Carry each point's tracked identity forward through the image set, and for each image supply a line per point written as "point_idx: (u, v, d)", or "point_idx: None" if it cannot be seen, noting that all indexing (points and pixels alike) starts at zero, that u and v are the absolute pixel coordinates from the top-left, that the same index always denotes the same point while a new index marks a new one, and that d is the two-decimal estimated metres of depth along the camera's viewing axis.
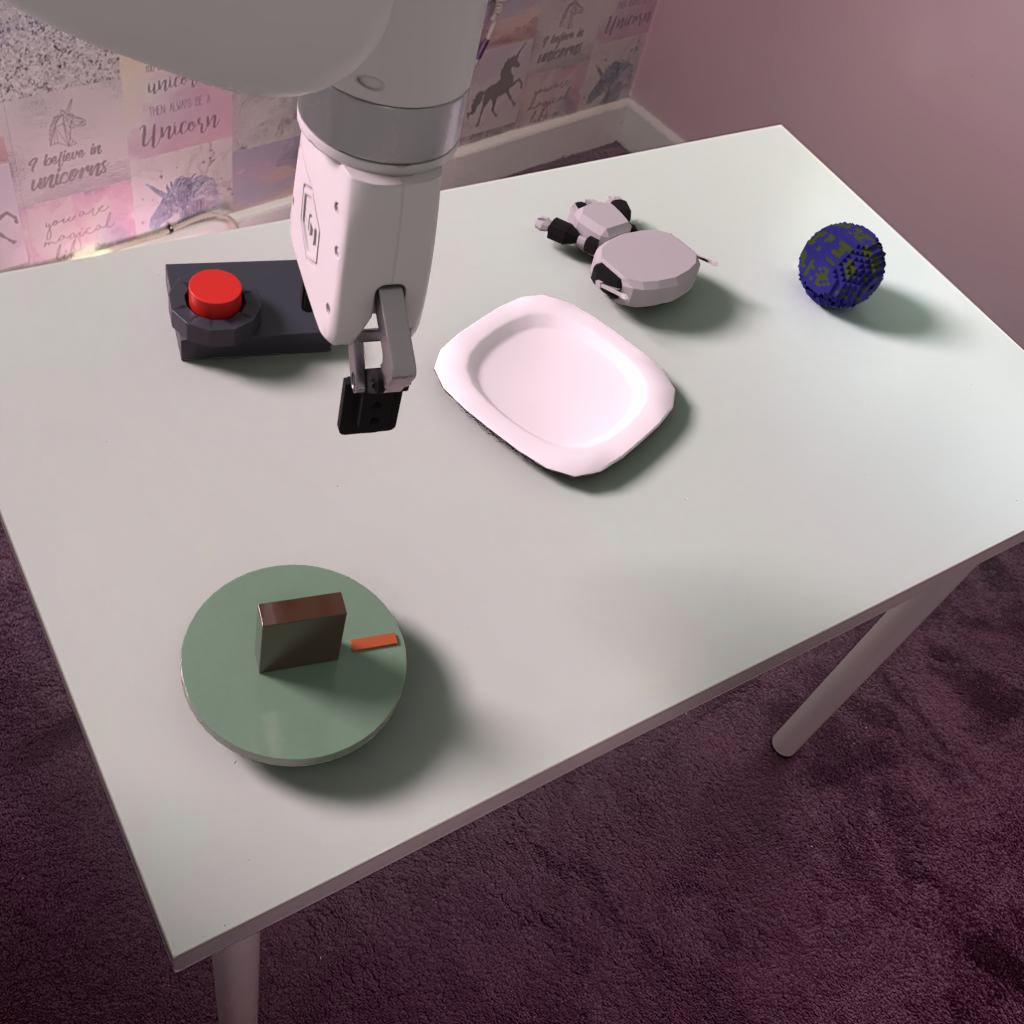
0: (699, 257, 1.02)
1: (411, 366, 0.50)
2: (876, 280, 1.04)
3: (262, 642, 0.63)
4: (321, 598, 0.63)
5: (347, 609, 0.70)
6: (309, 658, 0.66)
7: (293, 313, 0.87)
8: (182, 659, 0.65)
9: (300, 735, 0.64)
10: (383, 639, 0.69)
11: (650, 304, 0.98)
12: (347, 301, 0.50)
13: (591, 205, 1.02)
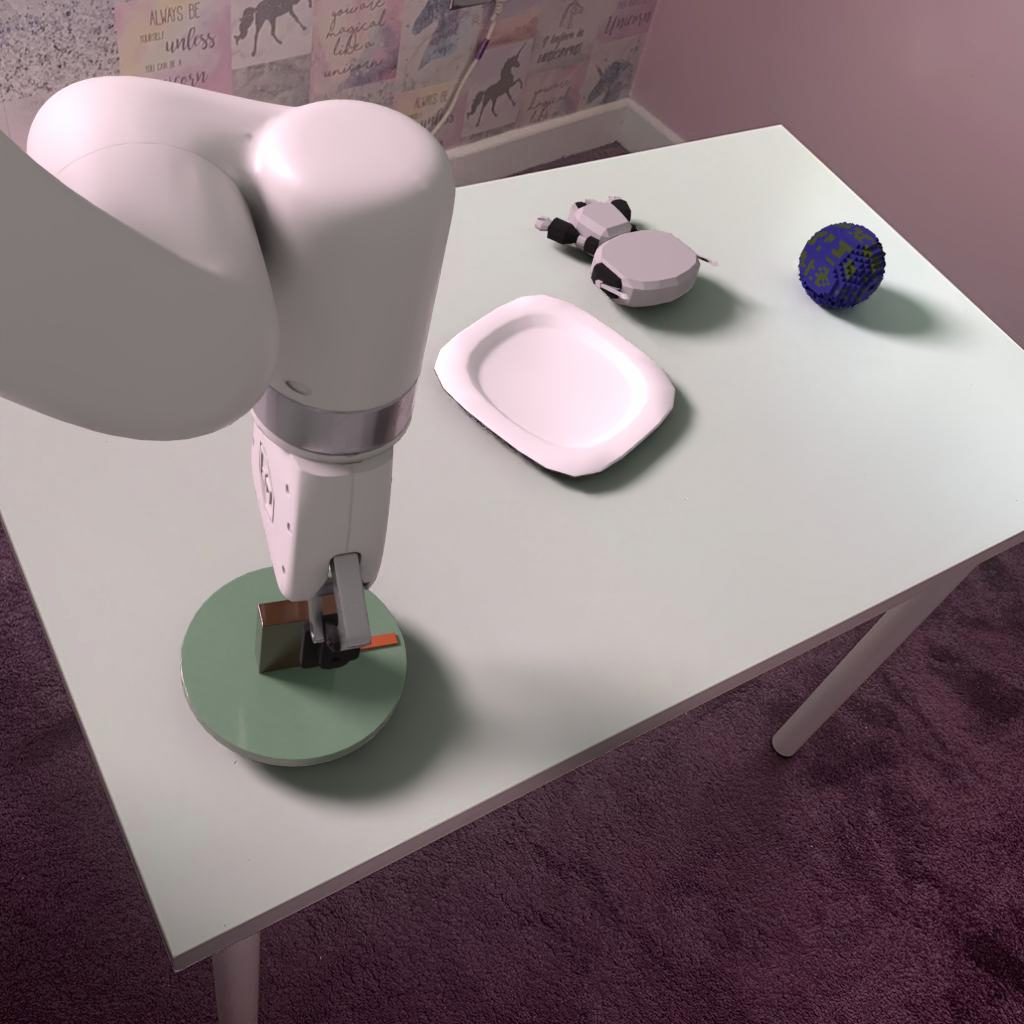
0: (699, 257, 1.02)
1: (366, 635, 0.50)
2: (876, 280, 1.04)
3: (262, 642, 0.63)
4: (321, 598, 0.63)
5: None
6: None
7: None
8: (182, 659, 0.65)
9: (300, 735, 0.64)
10: (383, 639, 0.69)
11: (650, 304, 0.98)
12: (301, 570, 0.50)
13: (591, 205, 1.02)
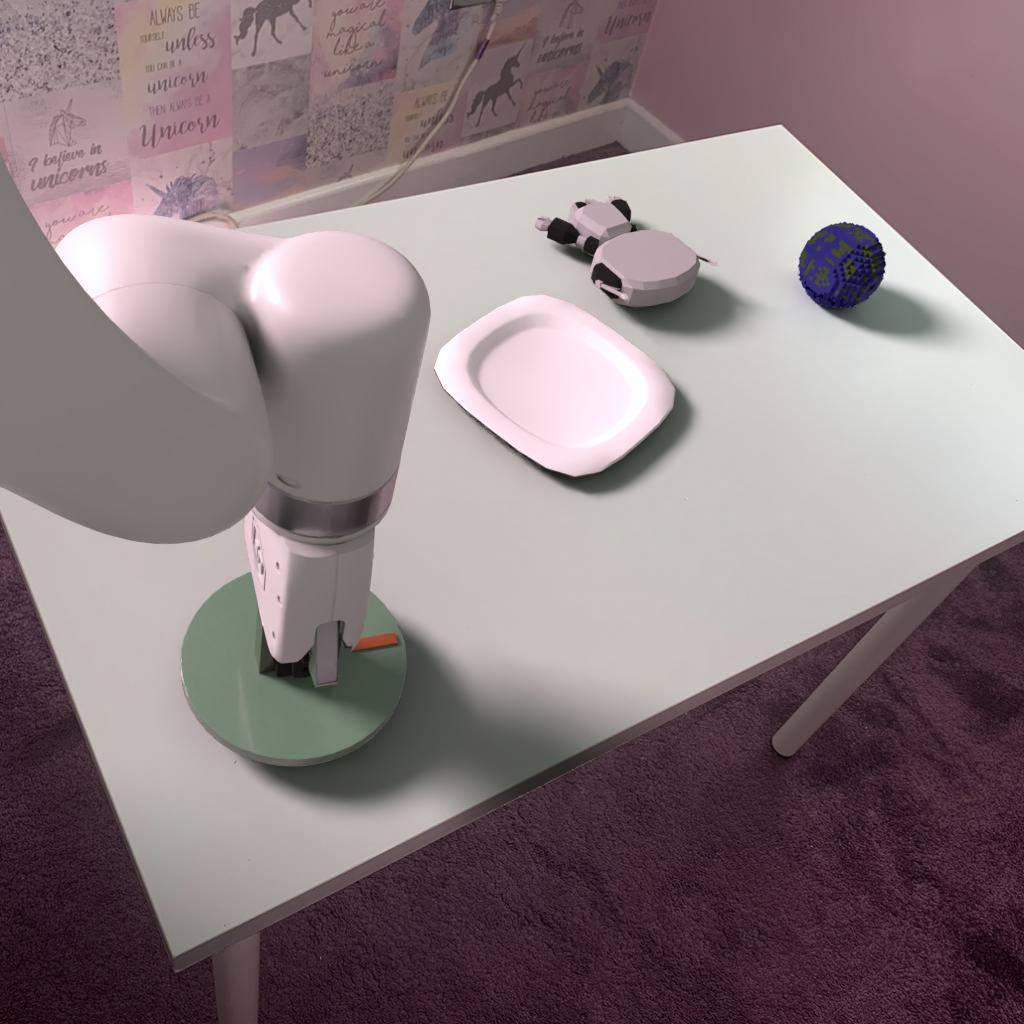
0: (699, 257, 1.02)
1: (333, 681, 0.58)
2: (876, 280, 1.04)
3: (262, 642, 0.63)
4: None
5: None
6: None
7: None
8: (182, 659, 0.65)
9: (300, 735, 0.64)
10: (383, 639, 0.69)
11: (650, 304, 0.98)
12: (290, 636, 0.55)
13: (591, 205, 1.02)
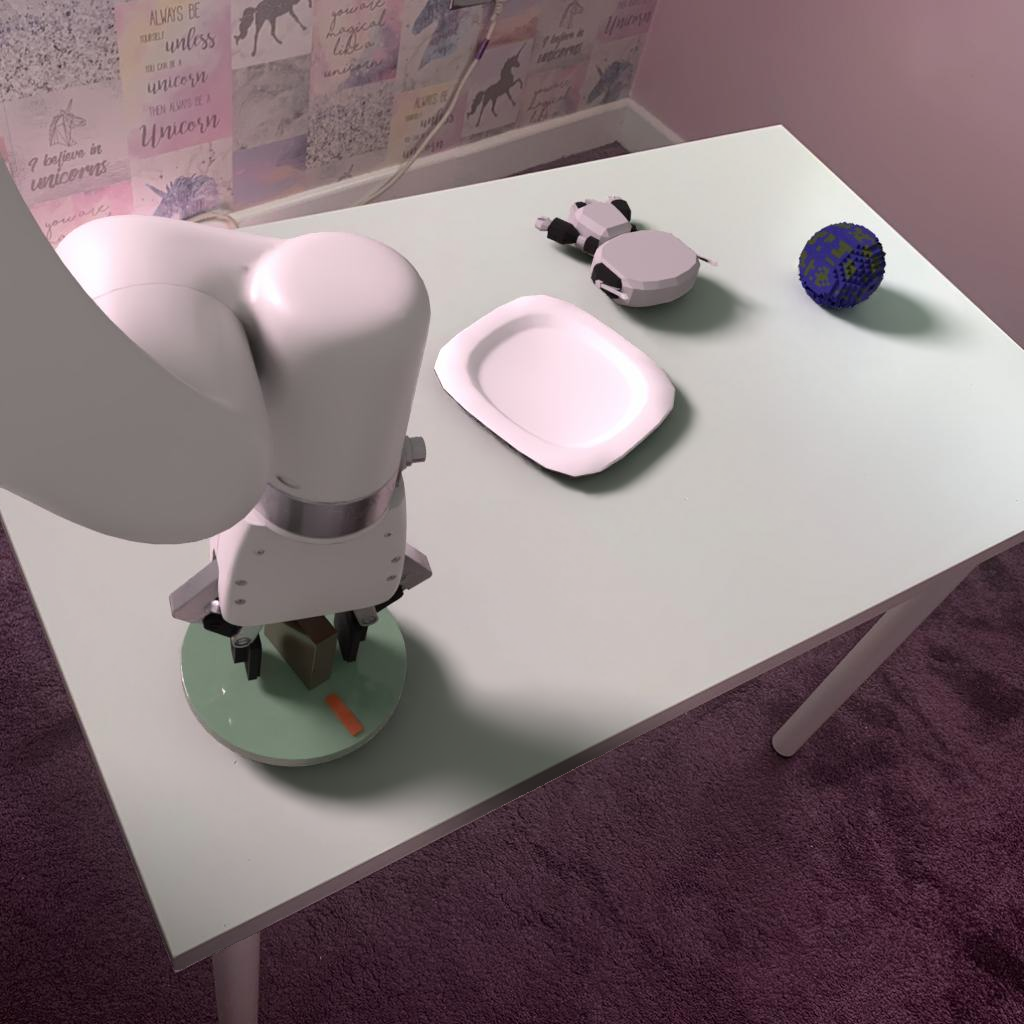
0: (699, 257, 1.02)
1: (173, 608, 0.57)
2: (876, 280, 1.04)
3: None
4: (321, 619, 0.62)
5: (369, 678, 0.67)
6: (292, 662, 0.65)
7: None
8: None
9: (214, 689, 0.64)
10: (350, 720, 0.65)
11: (650, 304, 0.98)
12: None
13: (591, 205, 1.02)
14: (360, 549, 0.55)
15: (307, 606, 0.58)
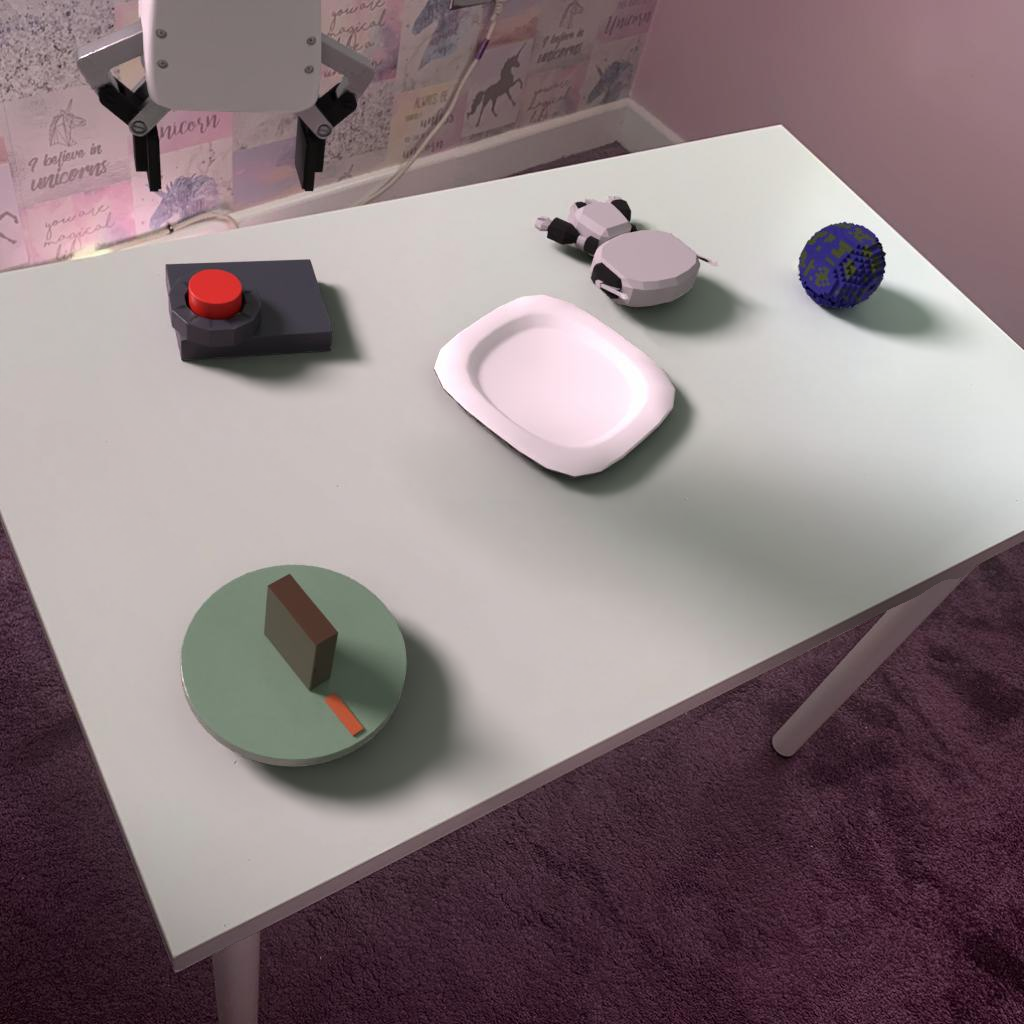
0: (699, 257, 1.02)
1: (80, 56, 0.60)
2: (876, 280, 1.04)
3: (266, 602, 0.64)
4: (321, 619, 0.62)
5: (369, 678, 0.67)
6: (292, 662, 0.65)
7: (293, 313, 0.87)
8: (250, 573, 0.70)
9: (214, 689, 0.64)
10: (350, 720, 0.65)
11: (650, 304, 0.98)
12: None
13: (591, 205, 1.02)
14: (273, 8, 0.59)
15: (228, 89, 0.62)
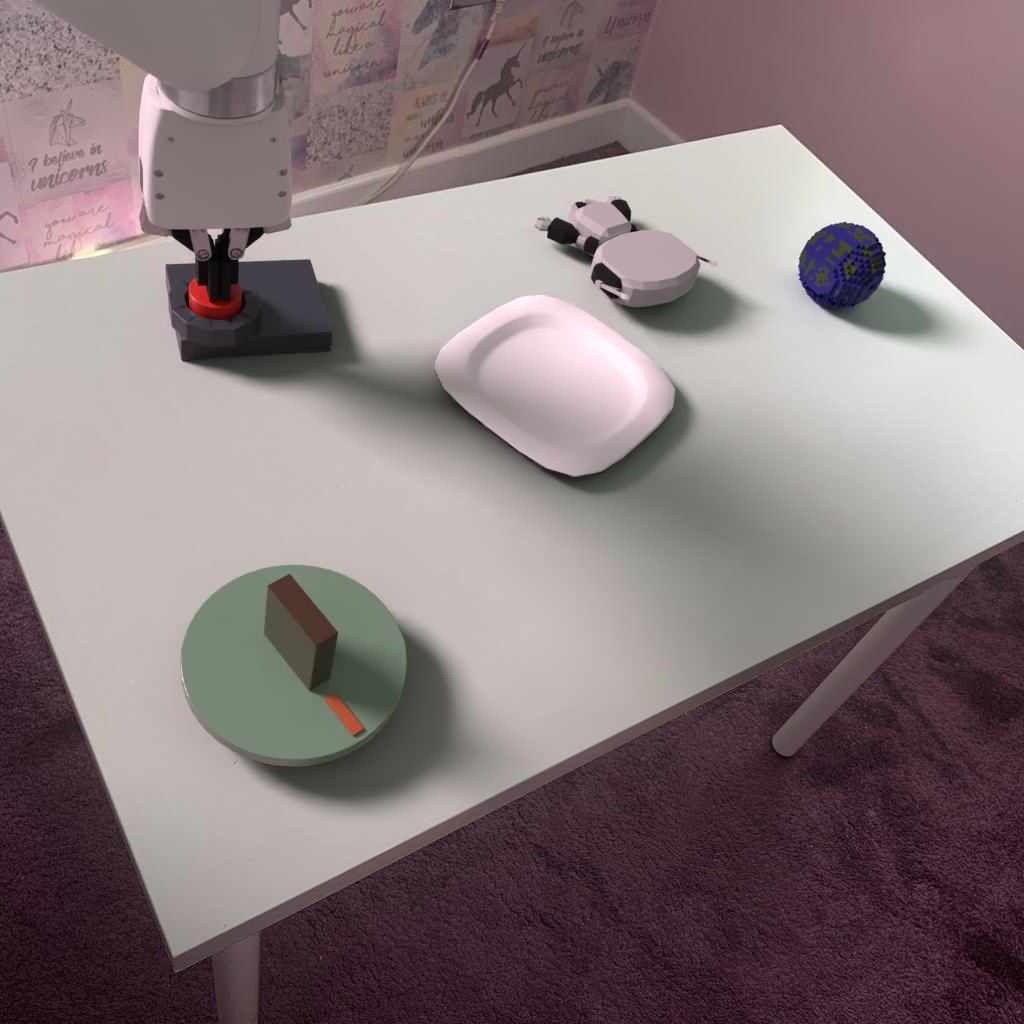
0: (699, 257, 1.02)
1: (141, 225, 0.75)
2: (876, 280, 1.04)
3: (266, 602, 0.64)
4: (321, 619, 0.62)
5: (369, 678, 0.67)
6: (292, 662, 0.65)
7: (293, 313, 0.87)
8: (250, 573, 0.70)
9: (214, 689, 0.64)
10: (350, 720, 0.65)
11: (650, 304, 0.98)
12: None
13: (591, 205, 1.02)
14: (251, 150, 0.71)
15: (214, 212, 0.74)
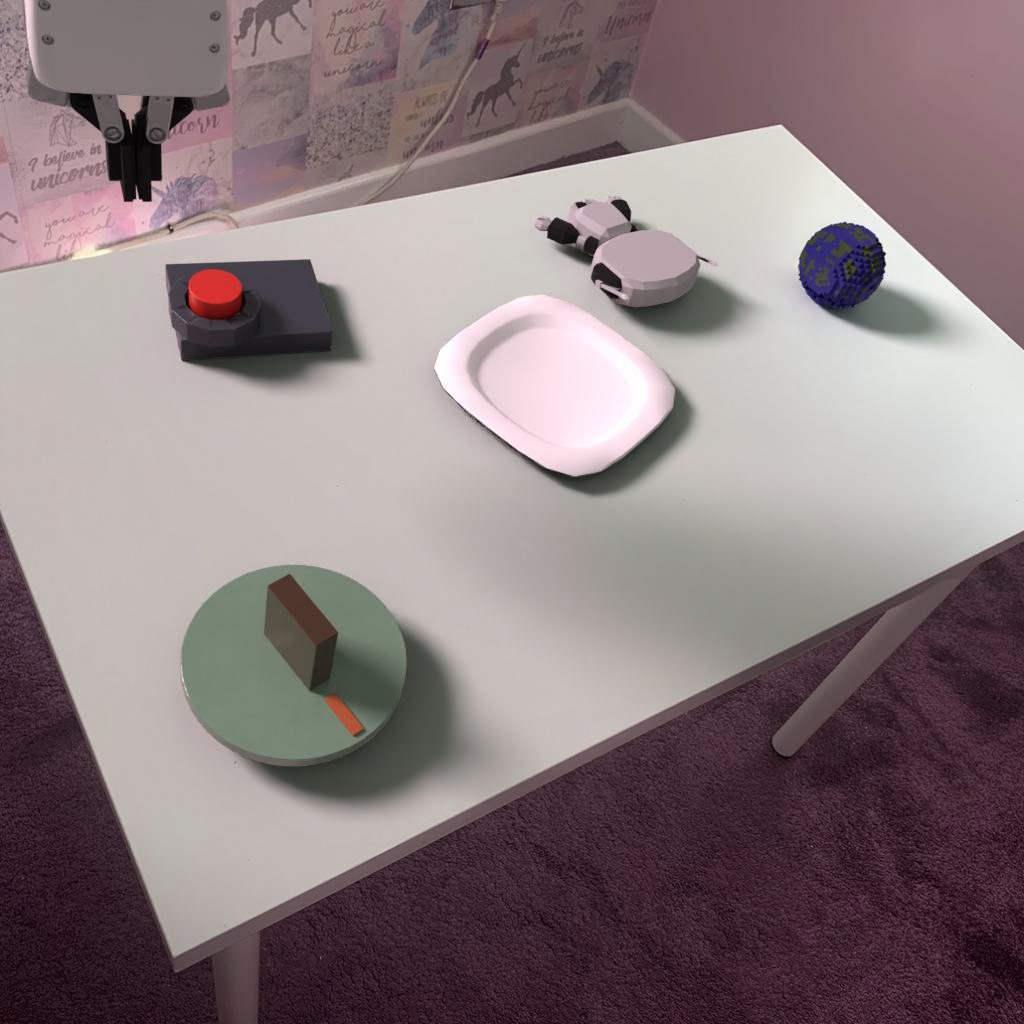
0: (699, 257, 1.02)
1: (28, 88, 0.57)
2: (876, 280, 1.04)
3: (266, 602, 0.64)
4: (321, 619, 0.62)
5: (369, 678, 0.67)
6: (292, 662, 0.65)
7: (293, 313, 0.87)
8: (250, 573, 0.70)
9: (214, 689, 0.64)
10: (350, 720, 0.65)
11: (650, 304, 0.98)
12: None
13: (591, 205, 1.02)
14: None
15: (124, 69, 0.56)
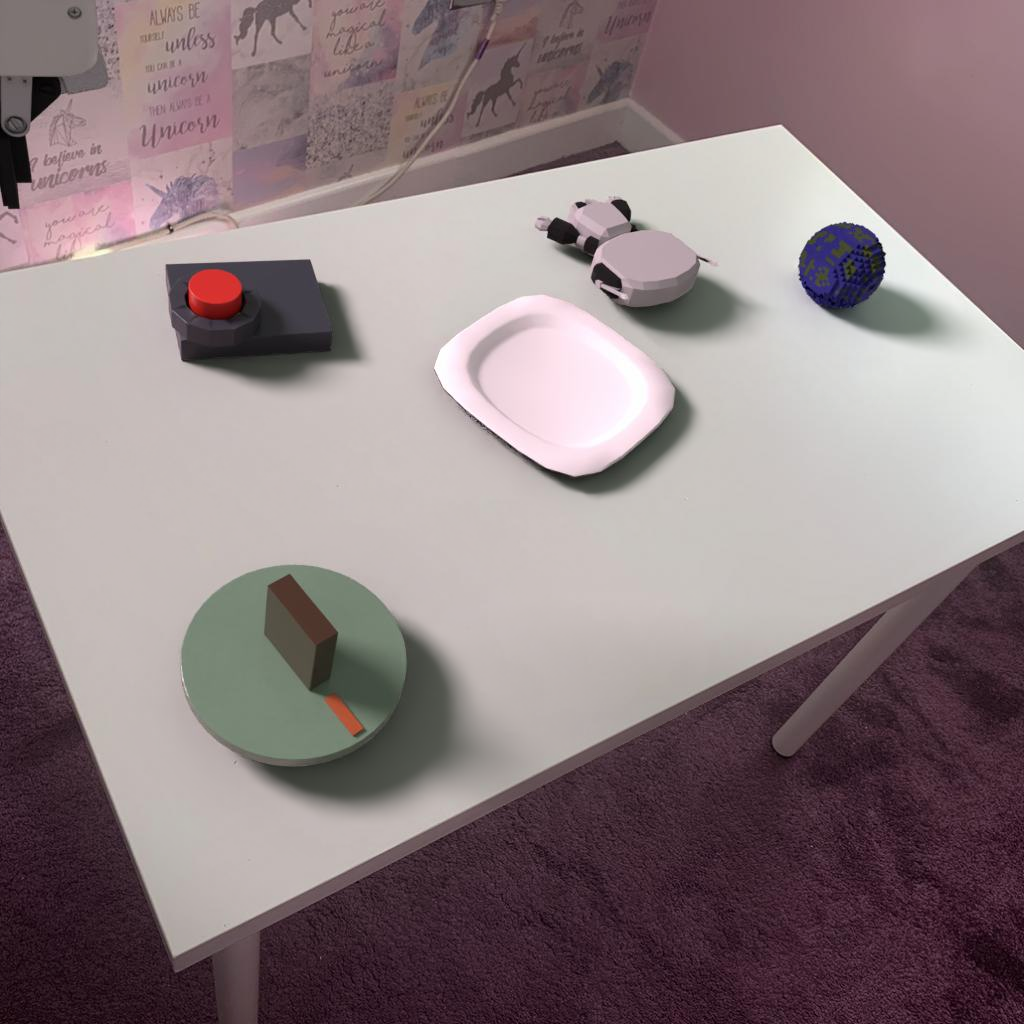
0: (699, 257, 1.02)
1: None
2: (876, 280, 1.04)
3: (266, 602, 0.64)
4: (321, 619, 0.62)
5: (369, 678, 0.67)
6: (292, 662, 0.65)
7: (293, 313, 0.87)
8: (250, 573, 0.70)
9: (214, 689, 0.64)
10: (350, 720, 0.65)
11: (650, 304, 0.98)
12: None
13: (591, 205, 1.02)
14: None
15: None
